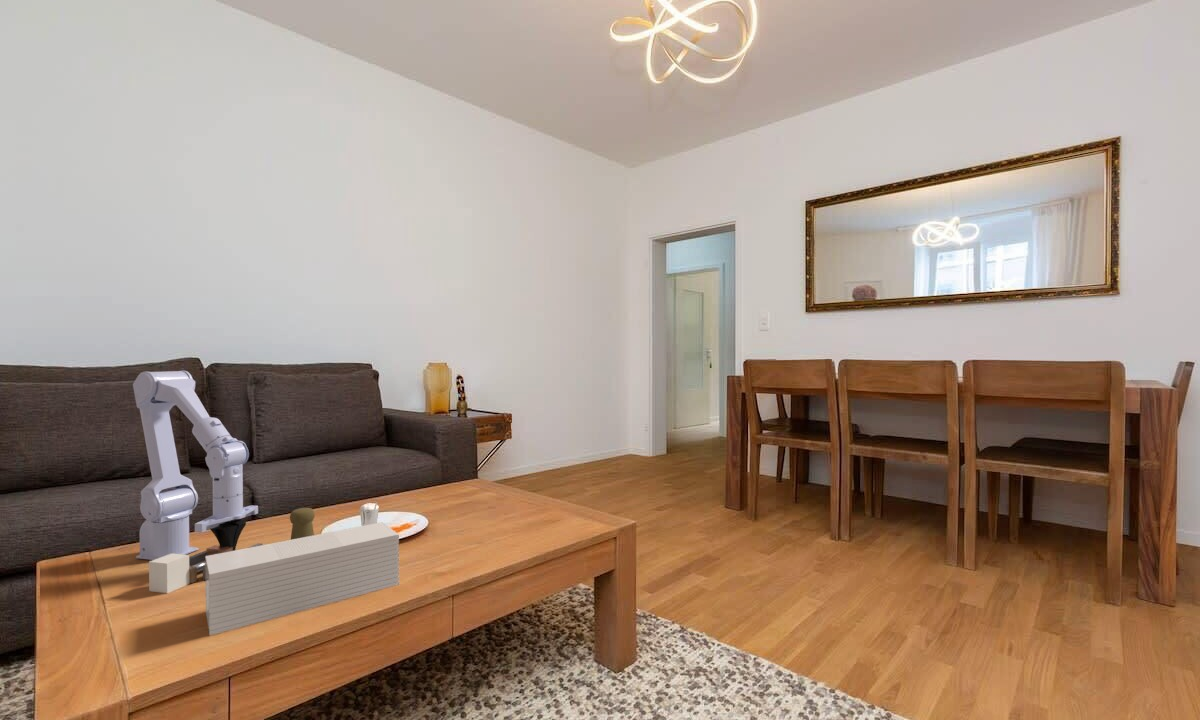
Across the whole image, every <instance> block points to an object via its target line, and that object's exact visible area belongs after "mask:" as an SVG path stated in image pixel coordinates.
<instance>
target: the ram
mask: <svg viewBox="0 0 1200 720" xmlns="http://www.w3.org/2000/svg"><path fill="white" fill-rule="evenodd" d="M206 550H207V556H209V555H214V554H220V553H225V552H230V551H233V547H227V546H219V545H217V544H216V545H215V544H214V545H212V546H209V547H207V548H206ZM204 565H205V561H203V562H201V563H198V564H196V565H193V566H189V584H193V583H195V582H197V579H198V577H197V575H198V574H197V573H199V572H200V571H203V566H204Z"/></svg>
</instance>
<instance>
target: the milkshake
mask: <svg viewBox="0 0 1200 720" xmlns="http://www.w3.org/2000/svg"><path fill="white" fill-rule="evenodd" d="M379 510H380V506H379V505H378V501H376V502H374V503H372V502H367V503H365V504H362V505H361V506H360V507H359V515H360V521H361V525H360V526H365V525H370V524H375V523H378V519H379Z"/></svg>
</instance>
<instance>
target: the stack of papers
mask: <svg viewBox="0 0 1200 720" xmlns="http://www.w3.org/2000/svg"><path fill="white" fill-rule="evenodd" d="M399 543H400V534H399V533H397V532H396V531H395V530H394V529H392V528H391V527H390V526H388V525H387V524H386V523H385V522H383V521H381V522H377V523H375V524H370V525H365V526H362V525H360V526H355V527H350V528H344V529H341V530H334V531H329V532H325V533H319V534H314V535H313V536H308V537H303V538H297V539H292V540H291V539H287V540H282V541H277V542H272V543H268V544H267V543H266V544H263V545H261V546H256V547H251V548H248V547H246V548H241V549H236V550H235V551H230V552H225V553H220V554H214V555H209V556H205V571H206V573H205V576H206V580H205V616H206V622H207V627H208V635H209V636H213V635H214V636H215V635H216V634H220V633H225V632H229V631H232V630H236V629H239V628H243V627H246V626H250V625H254V624H258V623H262V622H265V621H269V620H273V619H276V618H277V619H278V618H279V617H284V616H288V615H291V614H295V613H299V612H302V611H306V610H310V609H314V608H317V607H321V606H325V605H329V604H331V603H336V602H339V601H344V600H347V599H349V598H350V599H351V598H354V597H358V596H361V595H362V596H363V595H365V594H368V593H369V594H370V593H373V592H376V591H381V590H384V589H388V588H391V587H395V586H399V585H400V544H399Z"/></svg>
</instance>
